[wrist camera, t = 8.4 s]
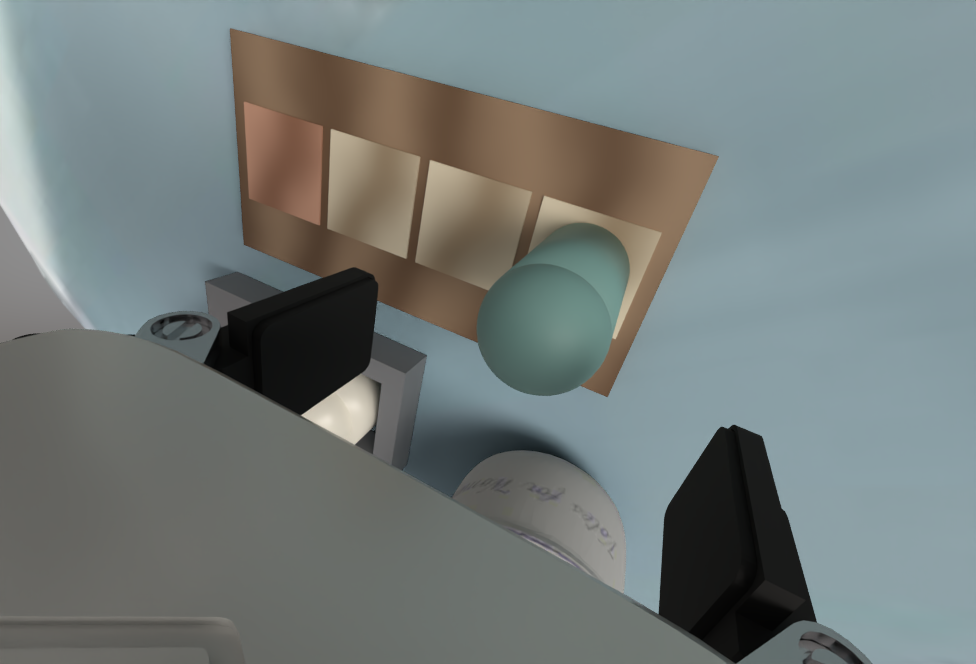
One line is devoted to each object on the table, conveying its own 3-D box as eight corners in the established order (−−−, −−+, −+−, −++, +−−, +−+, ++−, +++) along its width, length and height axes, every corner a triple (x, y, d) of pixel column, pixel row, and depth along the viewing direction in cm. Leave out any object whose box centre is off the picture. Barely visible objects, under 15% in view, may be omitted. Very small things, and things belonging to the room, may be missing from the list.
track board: (256, 241, 29) (242, 244, 28) (246, 32, 23) (228, 27, 22) (609, 387, 23) (607, 397, 22) (716, 155, 17) (718, 156, 16)
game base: (245, 380, 36) (171, 421, 30) (237, 271, 31) (147, 298, 25) (406, 464, 32) (353, 527, 26) (426, 355, 27) (366, 407, 22)
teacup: (655, 460, 24) (646, 588, 17) (614, 582, 28) (595, 720, 22) (436, 391, 28) (359, 471, 21) (432, 507, 33) (369, 603, 26)
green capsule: (523, 291, 21) (440, 382, 14) (554, 208, 19) (476, 259, 11) (604, 327, 20) (565, 446, 13) (647, 245, 18) (631, 328, 11)
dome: (318, 403, 32) (260, 446, 28) (321, 337, 29) (256, 373, 25) (384, 436, 31) (333, 487, 26) (393, 371, 28) (338, 415, 23)
